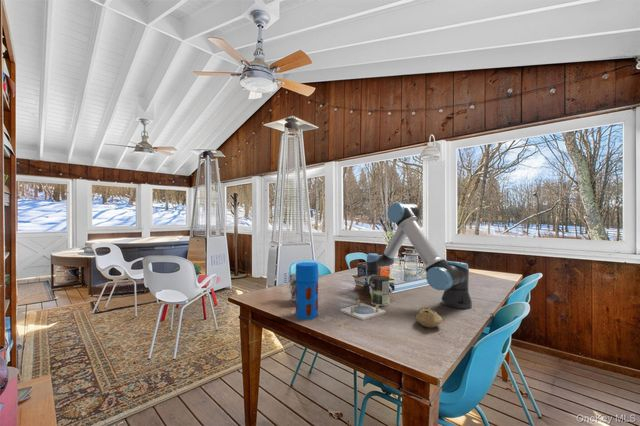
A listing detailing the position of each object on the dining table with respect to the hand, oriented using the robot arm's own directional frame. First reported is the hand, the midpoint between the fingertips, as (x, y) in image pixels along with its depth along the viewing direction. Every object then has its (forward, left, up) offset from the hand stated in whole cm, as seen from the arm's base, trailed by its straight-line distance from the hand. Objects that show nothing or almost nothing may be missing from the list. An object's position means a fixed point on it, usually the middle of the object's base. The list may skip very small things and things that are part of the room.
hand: (381, 291), depth 157 cm
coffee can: (+3, -3, -8) cm, 9 cm away
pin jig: (-1, +15, -8) cm, 17 cm away
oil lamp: (-30, +4, -8) cm, 31 cm away
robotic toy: (+33, +31, -8) cm, 46 cm away
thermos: (+12, +40, -8) cm, 43 cm away
